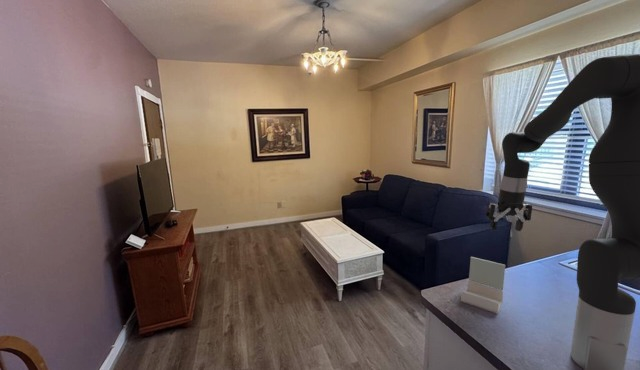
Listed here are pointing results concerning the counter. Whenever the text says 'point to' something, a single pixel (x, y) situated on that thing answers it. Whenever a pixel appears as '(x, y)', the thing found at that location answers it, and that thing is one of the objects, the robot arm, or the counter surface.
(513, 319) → the counter surface
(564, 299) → the counter surface
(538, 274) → the counter surface
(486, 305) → the cream card holder
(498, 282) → the cover
